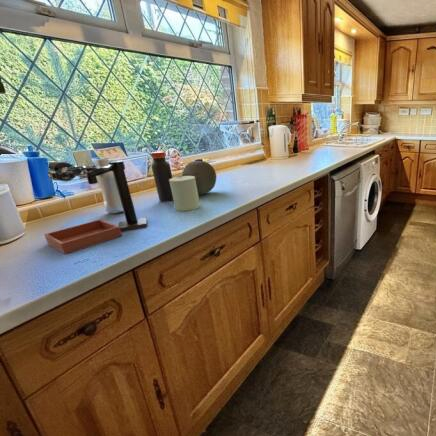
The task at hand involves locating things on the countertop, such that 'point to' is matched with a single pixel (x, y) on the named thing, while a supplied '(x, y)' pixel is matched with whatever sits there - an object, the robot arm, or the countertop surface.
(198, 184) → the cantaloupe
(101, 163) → the plastic bottle
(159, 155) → the vinegar
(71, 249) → the reddish brown tray
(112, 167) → the spout
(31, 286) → the countertop surface
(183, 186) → the can
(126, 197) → the faucet base
